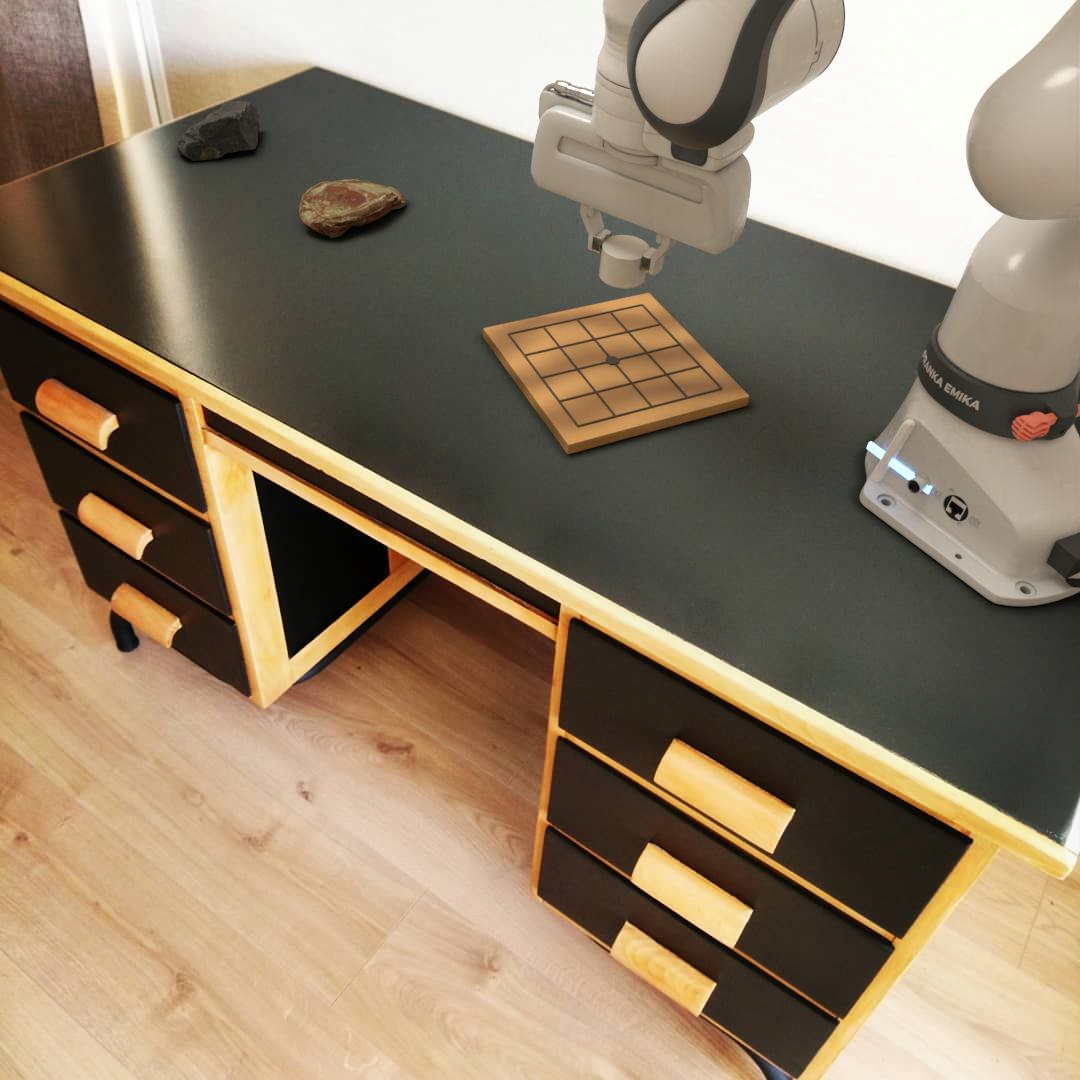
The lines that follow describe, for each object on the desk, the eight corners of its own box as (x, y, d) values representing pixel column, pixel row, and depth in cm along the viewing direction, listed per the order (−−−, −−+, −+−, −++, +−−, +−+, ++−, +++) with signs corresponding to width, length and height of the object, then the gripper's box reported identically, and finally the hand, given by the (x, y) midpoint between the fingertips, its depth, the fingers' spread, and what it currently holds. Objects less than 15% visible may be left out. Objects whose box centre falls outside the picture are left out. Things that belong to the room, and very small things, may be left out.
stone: (346, 186, 120) (344, 161, 118) (412, 204, 117) (411, 180, 115) (280, 228, 112) (276, 203, 110) (350, 249, 109) (347, 224, 107)
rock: (179, 172, 122) (252, 155, 121) (160, 125, 119) (235, 107, 118) (201, 153, 131) (269, 137, 130) (184, 109, 127) (253, 93, 127)
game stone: (653, 283, 87) (658, 254, 85) (612, 292, 86) (616, 262, 84) (630, 260, 90) (635, 231, 88) (590, 268, 89) (593, 239, 86)
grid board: (747, 405, 93) (750, 395, 92) (567, 454, 86) (568, 443, 85) (647, 301, 105) (649, 291, 104) (482, 337, 98) (483, 326, 97)
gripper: (520, 84, 79) (513, 236, 89) (739, 159, 71) (704, 314, 81) (562, 63, 82) (551, 211, 92) (773, 132, 75) (736, 284, 85)
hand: (624, 260), depth 87 cm, fingers closed on game stone, 4 cm apart
